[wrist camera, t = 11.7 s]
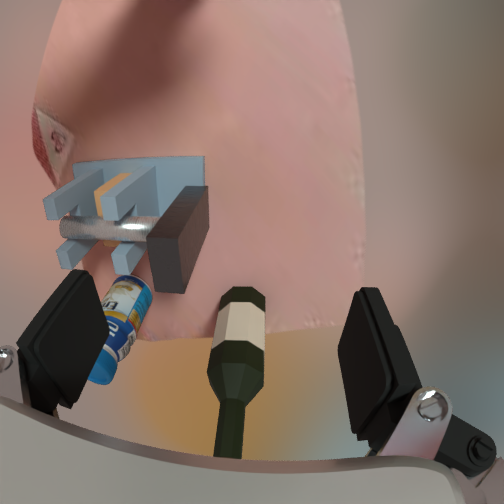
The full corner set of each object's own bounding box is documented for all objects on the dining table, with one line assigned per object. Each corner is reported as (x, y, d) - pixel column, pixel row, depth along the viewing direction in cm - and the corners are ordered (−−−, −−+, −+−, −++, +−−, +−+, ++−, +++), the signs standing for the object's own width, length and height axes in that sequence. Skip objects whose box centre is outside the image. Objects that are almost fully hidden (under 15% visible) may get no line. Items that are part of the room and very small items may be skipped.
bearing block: (87, 228, 46) (43, 272, 34) (76, 162, 40) (21, 193, 28) (206, 232, 46) (185, 286, 34) (204, 156, 40) (176, 186, 28)
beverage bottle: (136, 313, 56) (100, 392, 39) (106, 284, 53) (59, 361, 35) (162, 296, 53) (127, 383, 36) (130, 264, 50) (80, 346, 33)
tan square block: (126, 221, 44) (104, 246, 37) (120, 173, 40) (93, 191, 33) (146, 221, 44) (125, 247, 37) (140, 172, 40) (116, 190, 33)
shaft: (94, 224, 41) (41, 278, 28) (87, 187, 38) (26, 233, 25) (209, 227, 40) (184, 293, 28) (208, 186, 37) (177, 238, 25)
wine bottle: (215, 312, 54) (185, 466, 29) (228, 279, 50) (198, 449, 24) (257, 325, 55) (248, 478, 30) (274, 293, 51) (275, 462, 26)
